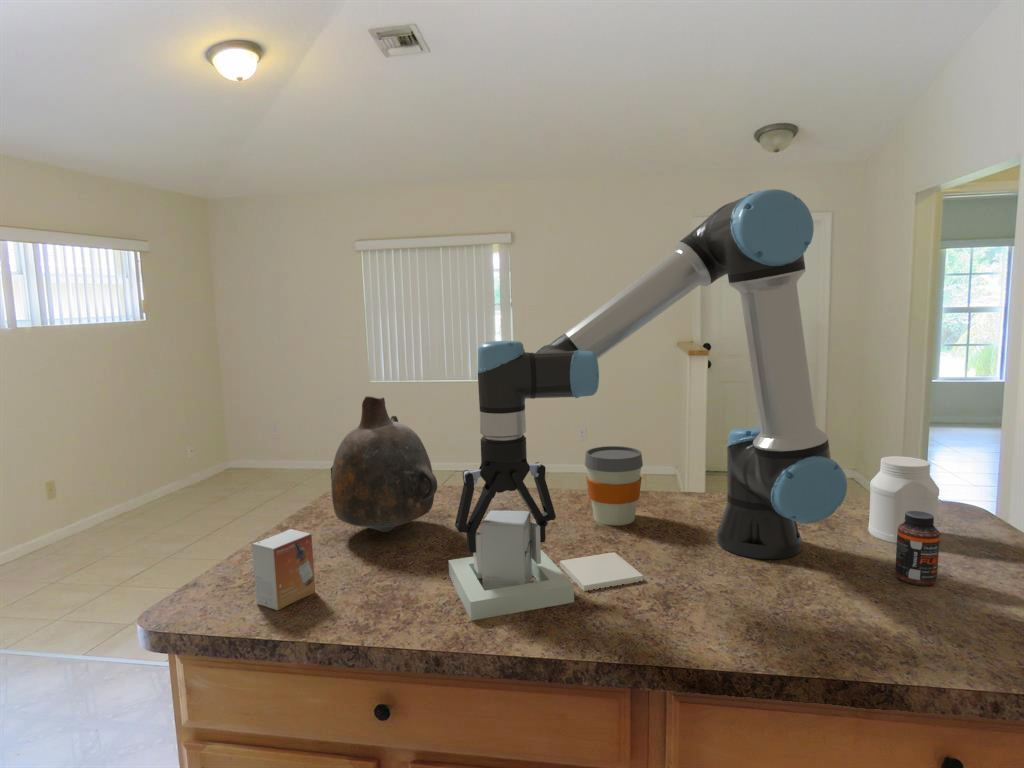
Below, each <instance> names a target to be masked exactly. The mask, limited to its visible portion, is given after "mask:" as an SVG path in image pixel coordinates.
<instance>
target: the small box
mask: <svg viewBox="0 0 1024 768" xmlns="http://www.w3.org/2000/svg"><path fill="white" fill-rule="evenodd" d="M312 535H313V534H312V533H309V532H305V531H300V530H296V529H292V528H290V529H287V530H286V531H283V532H280V533H277V534H275V535H273V536H270V537H267V538H265V539H262V540H259V541H256V542H253V543H252V544H251V551H252V553H251V554H252V565H253V576H254V588H255V589H254V590H255V601H256V604H257V605H260V606H263V607H265V608H269V609H272V610H275V611H280V610H281V609H283V608H285V607H287V606H289V605H291V604H293V603H296V602H299V601H300V600H301V599H304V598H306V597H309V596H311V595H312V594H315V593H316V583H315V582H316V581H315V566H314V565H315V564H314V552H313V549H314V548H313V536H312Z"/></svg>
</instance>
